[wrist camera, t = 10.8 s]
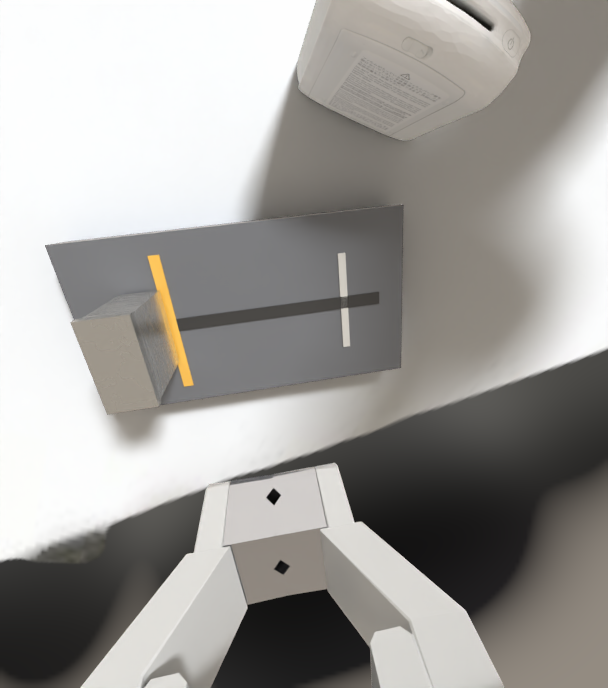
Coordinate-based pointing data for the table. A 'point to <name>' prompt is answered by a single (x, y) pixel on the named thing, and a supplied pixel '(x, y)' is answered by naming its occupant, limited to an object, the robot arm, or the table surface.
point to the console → (257, 296)
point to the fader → (128, 350)
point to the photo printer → (410, 60)
